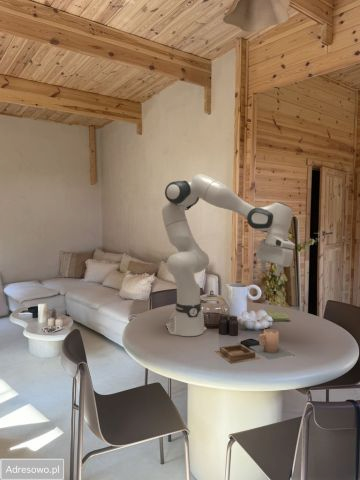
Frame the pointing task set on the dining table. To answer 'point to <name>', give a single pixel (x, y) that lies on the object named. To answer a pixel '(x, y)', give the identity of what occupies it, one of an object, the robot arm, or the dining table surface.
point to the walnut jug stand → (237, 353)
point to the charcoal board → (280, 353)
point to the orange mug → (269, 340)
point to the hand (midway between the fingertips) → (269, 273)
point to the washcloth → (279, 316)
